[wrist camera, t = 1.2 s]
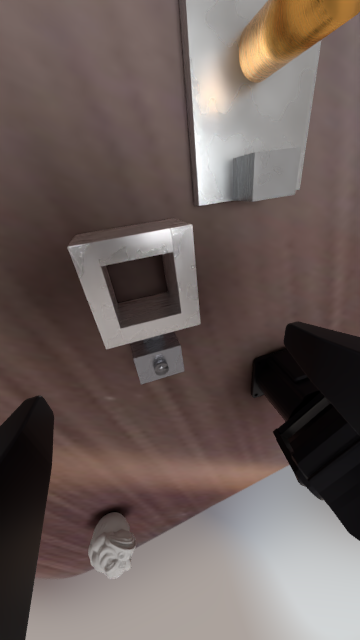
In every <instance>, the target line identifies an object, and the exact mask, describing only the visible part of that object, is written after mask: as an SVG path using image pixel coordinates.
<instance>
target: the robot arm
mask: <svg viewBox="0 0 360 640" xmlns="http://www.w3.org/2000/svg"><path fill="white" fill-rule="evenodd" d="M284 345H285V347H286V348H287V349H285V350H282V351H278V352H275V353H272V354H269V355H266V356H263V357H259V358H257V359H255V360H254V362H253V374H252V387H251V395H252V397H253V398H256V397H259V396H262V395H265V396H266V397H267V399H268V400H269V401H270V402H271V404H272V405H273V406H274V408H275V409H276V410H277V411H278V413H279V414H280V415H281V416H282V418H283V419H284V420H285V421H286V422H285V423H284V424H283V425H282V426H280V427H279V428H278V429H275V430H274V431H273V433H274V435H275V437H276V440H277V442H278V444H279V446H280V448H281V449H282V451H283V453H284V455H285V457H286V459H287V460H288V462H289V464H290V466H291V468H292V470H293V471H294V473H295V476H296V478H297V480H298V482H299V483H300V484H301V485H303V486H305V487H307V488H308V489H309V490H310V491H311V492H312V493H313V494H314V495H315V496H316V497H317V498H319V499H320V500H325V502H326V503H327V504H328V505H329V506H330V508H331V509H332V511H333V512H334V513H335V514H336V516H337V517H338V519H339V520H340V521H341V523H342V524H343V525H344V527H345V528H346V529H347V531H348V532H349V533H350V534H351V535H353V536H354V537H355V538H357V539H358V540H359V541H360V337H357V336H353V335H349V334H345V333H341V332H337V331H333V330H329V329H325V328H322V327H318V326H314V325H310V324H306V323H302V322H293V323H290V324H288V325H287V326H286V330H285V336H284ZM53 429H54V415H53V411H52V410H51V408H50V407H49V405H48V404H47V402H46V401H45V399H44V398H43V397H42V396H35V397H32V398H28V399H26V400H25V401H24V402H23V403H22V404H21V405H20V406H19V407H18V408H17V409H16V410H15V411H14V412H13V413H12V414H11V416H10V417H9V418H8V419H7V420H6V421H5V422H4V423H3V424H2V425H1V426H0V640H25V637H26V631H27V624H28V618H29V612H30V605H31V598H32V592H33V585H34V579H35V573H36V566H37V560H38V553H39V547H40V540H41V534H42V527H43V521H44V514H45V508H46V501H47V495H48V488H49V482H50V475H51V468H52V453H53Z"/></svg>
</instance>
